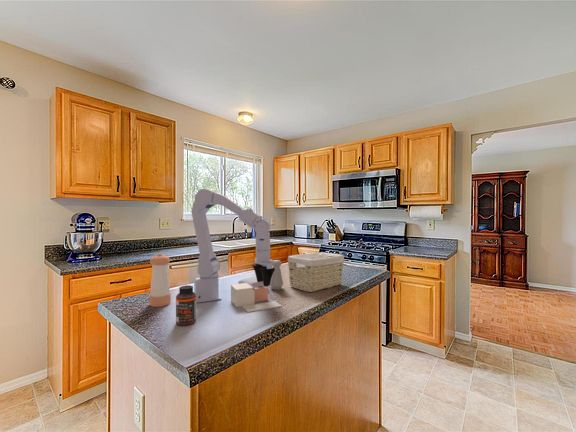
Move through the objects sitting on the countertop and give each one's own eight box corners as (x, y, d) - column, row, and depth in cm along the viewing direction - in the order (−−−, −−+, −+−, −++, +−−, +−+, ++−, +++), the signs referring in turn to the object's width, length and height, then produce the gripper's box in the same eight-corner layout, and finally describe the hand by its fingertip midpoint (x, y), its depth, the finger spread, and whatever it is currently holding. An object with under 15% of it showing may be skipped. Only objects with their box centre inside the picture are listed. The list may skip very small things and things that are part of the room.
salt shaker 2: (273, 291, 121) (273, 261, 121) (268, 288, 126) (268, 259, 126) (285, 289, 124) (285, 260, 124) (279, 286, 129) (279, 258, 129)
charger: (248, 284, 134) (267, 290, 123) (232, 287, 128) (250, 294, 117) (248, 274, 134) (267, 279, 123) (232, 277, 128) (250, 283, 117)
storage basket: (320, 279, 144) (320, 251, 144) (346, 285, 131) (345, 254, 131) (286, 287, 128) (286, 255, 128) (311, 294, 116) (310, 260, 116)
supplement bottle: (176, 327, 82) (175, 290, 82) (175, 320, 88) (175, 285, 88) (197, 324, 85) (196, 288, 85) (195, 317, 90) (195, 283, 90)
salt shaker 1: (164, 299, 110) (163, 251, 110) (174, 302, 106) (174, 253, 106) (145, 304, 104) (145, 254, 104) (156, 308, 100) (155, 255, 100)
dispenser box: (236, 307, 100) (236, 289, 100) (230, 300, 108) (230, 284, 108) (254, 304, 104) (254, 287, 103) (248, 298, 111) (248, 282, 111)
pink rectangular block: (240, 304, 104) (240, 291, 104) (239, 302, 106) (239, 289, 106) (267, 300, 109) (267, 287, 109) (265, 298, 111) (265, 286, 111)
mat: (247, 312, 95) (247, 311, 95) (242, 307, 100) (242, 306, 100) (281, 306, 101) (281, 305, 101) (275, 302, 106) (275, 301, 106)
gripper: (279, 251, 104) (279, 286, 104) (265, 247, 117) (266, 278, 118) (262, 252, 101) (262, 289, 101) (249, 248, 114) (250, 280, 114)
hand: (263, 283), depth 109 cm, fingers open, 7 cm apart
